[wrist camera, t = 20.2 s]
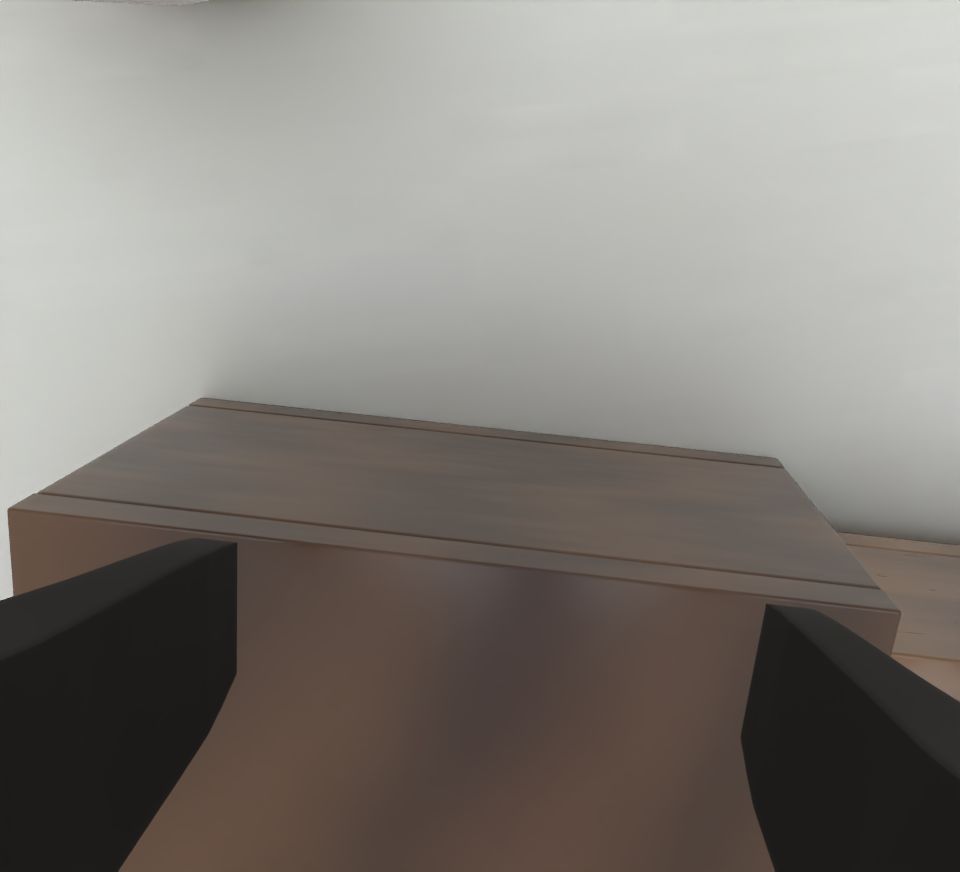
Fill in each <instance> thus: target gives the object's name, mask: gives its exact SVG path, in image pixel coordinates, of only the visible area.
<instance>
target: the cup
mask: <svg viewBox="0 0 960 872" xmlns="http://www.w3.org/2000/svg"><path fill="white" fill-rule="evenodd" d="M75 1H95V2H115V3H136V4H156V5H185V4H193V3H199V2H204V1H208V0H75Z"/></svg>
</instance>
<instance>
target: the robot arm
mask: <svg viewBox="0 0 960 872" xmlns="http://www.w3.org/2000/svg"><path fill="white" fill-rule="evenodd" d="M237 547H238V543H237V542H229V541H220V540H211V539H203V538H190V539H184V540H180V541H176V542H173V543H169V544H166V545H163V546H160V547H157V548H154V549H151V550H148V551H145V552H142V553H139V554H137V555H134V556H131V557H128V558H125V559H123V560H120V561H117V562H114V563H112V564H109V565H106V566H103V567H100V568H98V569H95V570H92V571H89V572H86V573H84V574H81V575H78V576H75V577H72V578H69V579H66V580H63V581H60V582H57V583H54V584H51V585H48V586H44V587H41V588H38V589H35V590H32V591H29V592H26V593H23V594H20V595H17V596H13V597H10V598H7V599H4V600H1V601H0V872H118V871H119V870H120V868H121V866H122V865H123V863H124V862H125V860H126V859H127V857H128V856H129V854H130V853H131V851H132V850H133V848H134V847H135V845H136V844H137V842H138V841H139V839H140V838H141V836H142V835H143V833H144V832H145V830H146V829H147V827H148V826H149V824H150V823H151V821H152V820H153V818H154V817H155V815H156V814H157V812H158V811H159V809H160V808H161V806H162V805H163V803H164V802H165V800H166V799H167V797H168V796H169V794H170V793H171V791H172V790H173V788H174V787H175V785H176V784H177V782H178V781H179V779H180V778H181V776H182V775H183V773H184V771H185V770H186V768H187V767H188V765H189V764H190V762H191V761H192V759H193V758H194V756H195V755H196V753H197V751H198V750H199V748H200V747H201V745H202V744H203V742H204V741H205V739H206V737H207V736H208V734H209V732H210V730H211V728H212V726H213V724H214V722H215V720H216V718H217V716H218V714H219V712H220V710H221V708H222V706H223V703H224V701H225V699H226V697H227V694H228V692H229V690H230V688H231V685H232V683H233V681H234V679H235V677H236V674H237ZM740 738H741V744H742V750H743V756H744V762H745V767H746V773H747V778H748V783H749V788H750V793H751V798H752V803H753V807H754V810H755V813H756V816H757V819H758V822H759V825H760V828H761V831H762V834H763V837H764V840H765V843H766V846H767V849H768V852H769V855H770V858H771V861H772V864H773V867H774V870H775V872H960V702H959V701H958V700H956V699H954V698H953V697H951V696H950V695H948V694H946V693H945V692H943V691H942V690H940V689H938V688H937V687H935V686H934V685H932V684H931V683H929V682H928V681H926V680H924V679H923V678H921V677H920V676H918V675H917V674H915V673H914V672H912V671H911V670H909V669H908V668H906V667H905V666H903V665H902V664H900V663H899V662H897V661H896V660H894V659H893V658H891V657H890V656H888V655H887V654H885V653H884V652H882V651H881V650H879V649H878V648H876V647H875V646H873V645H872V644H870V643H869V642H867V641H866V640H865V639H863V638H862V637H860V636H859V635H857V634H856V633H854V632H852V631H851V630H849V629H848V628H846V627H845V626H843V625H842V624H840V623H838V622H837V621H835V620H833V619H832V618H830V617H828V616H826V615H825V614H823V613H821V612H819V611H816V610H814V609H808V608H800V607H791V606H782V605H774V604H766V607H765V613H764V618H763V623H762V628H761V633H760V638H759V643H758V648H757V654H756V659H755V664H754V669H753V674H752V679H751V684H750V689H749V695H748V700H747V705H746V710H745V715H744V720H743V725H742V730H741V736H740Z"/></svg>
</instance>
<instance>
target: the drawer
mask: <svg viewBox="0 0 960 872" xmlns="http://www.w3.org/2000/svg"><path fill="white" fill-rule="evenodd" d="M836 533H837V534H838V535H839V536H840V538H841V539H842V540H843V541H844V543H845V544H846V545H847V546H848V547H849V549H850V550H851V551H852V552H853V554H854V555H855V556H856V557H857V559H858V560H859V561H860V562H861V564H862V565H863V566H864V567H865V569H866V570H867V571H868V572H869V573H870V575H871V576H872V577H873V578H874V580H875V581H876V582H877V583H878V585H879V586H880V587H881V590H884V591H885V592H886V593H887V594H888V595H889V597H890V598H891V599H892V600H893V602H894V603H895V604H896V605H897V607H898V608H899V609H900V610H901V617H900V621H899V625H898V629H897V633H896V637H895V642H894V646H893V650H892V654H891V658H893V659H894V660H896V661H897V662H899V663H900V664H902V665H903V666H905V667H906V668H908V669H909V670H911V671H912V672H914V673H915V674H917V675H918V676H920V677H921V678H923V679H924V680H926V681H928V682H929V683H931V684H932V685H934V686H935V687H937V688H938V689H940V690H942V691H943V692H945V693H946V694H948V695H950V696H951V697H953V698H954V699H956V700H958V701H959V702H960V546H959V545H949V544H940V543H931V542H922V541H913V540H904V539H895V538H886V537H877V536H868V535H859V534H849V533H840V532H836Z"/></svg>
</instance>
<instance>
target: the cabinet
mask: <svg viewBox="0 0 960 872" xmlns="http://www.w3.org/2000/svg"><path fill="white" fill-rule="evenodd" d="M7 512H8V526H9V539H10V553H11V566H12V580H13V593H14V596H17V595H20V594H23V593H26V592H29V591H32V590H35V589H38V588H41V587H44V586H48V585H51V584H54V583H57V582H60V581H63V580H66V579H69V578H72V577H75V576H78V575H81V574H84V573H86V572H89V571H92V570H95V569H98V568H100V567H103V566H106V565H109V564H112V563H114V562H117V561H120V560H123V559H125V558H128V557H131V556H134V555H137V554H139V553H142V552H145V551H148V550H151V549H154V548H157V547H160V546H163V545H166V544H169V543H173V542H176V541H180V540H184V539H190V538H203V539H211V540H220V541H229V542H237V543H238V547H237V674H236V677H235V679H234V681H233V683H232V685H231V688H230V690H229V692H228V694H227V697H226V699H225V701H224V703H223V706H222V708H221V710H220V712H219V714H218V716H217V718H216V720H215V722H214V724H213V726H212V728H211V730H210V732H209V734H208V736H207V737H206V739H205V741H204V742H203V744H202V745H201V747H200V748H199V750H198V751H197V753H196V755H195V756H194V758H193V759H192V761H191V762H190V764H189V765H188V767H187V768H186V770H185V771H184V773H183V775H182V776H181V778H180V779H179V781H178V782H177V784H176V785H175V787H174V788H173V790H172V791H171V793H170V794H169V796H168V797H167V799H166V800H165V802H164V803H163V805H162V806H161V808H160V809H159V811H158V812H157V814H156V815H155V817H154V818H153V820H152V821H151V823H150V824H149V826H148V827H147V829H146V830H145V832H144V833H143V835H142V836H141V838H140V839H139V841H138V842H137V844H136V845H135V847H134V848H133V850H132V851H131V853H130V854H129V856H128V857H127V859H126V860H125V862H124V863H123V865H122V866H121V868H120V870H119V871H118V872H775V870H774V867H773V864H772V861H771V858H770V855H769V852H768V849H767V846H766V843H765V840H764V837H763V834H762V831H761V828H760V825H759V822H758V819H757V816H756V813H755V810H754V807H753V803H752V798H751V793H750V788H749V783H748V778H747V773H746V767H745V762H744V756H743V750H742V744H741V738H740V736H741V730H742V725H743V720H744V715H745V710H746V705H747V700H748V695H749V689H750V684H751V679H752V674H753V669H754V664H755V659H756V654H757V648H758V643H759V638H760V633H761V628H762V623H763V618H764V613H765V607H766V604H774V605H782V606H791V607H800V608H808V609H814V610H816V611H819V612H821V613H823V614H825V615H826V616H828V617H830V618H832V619H833V620H835V621H837V622H838V623H840V624H842V625H843V626H845V627H846V628H848V629H849V630H851V631H852V632H854V633H856V634H857V635H859V636H860V637H862V638H863V639H865V640H866V641H867V642H869V643H870V644H872V645H873V646H875V647H876V648H878V649H879V650H881V651H882V652H884V653H885V654H887V655H888V656H890V657H891V654H892V650H893V646H894V642H895V637H896V633H897V629H898V625H899V621H900V617H901V610H900V609H899V608H898V607H897V605H896V604H895V603H894V602H893V600H892V599H891V598H890V597H889V595H888V594H887V593H886V592H885V591H884V590H881V587H880V586H879V585H878V583H877V582H876V581H875V580H874V578H873V577H872V576H871V575H870V573H869V572H868V571H867V570H866V569H865V567H864V566H863V565H862V564H861V562H860V561H859V560H858V559H857V557H856V556H855V555H854V554H853V552H852V551H851V550H850V549H849V547H848V546H847V545H846V544H845V543H844V541H843V540H842V539H841V538H840V536H839V535H838V534H837V533H836V531H835V530H834V529H833V528H832V526H831V525H830V524H829V523H828V521H827V520H826V519H825V518H824V517H823V515H822V514H821V513H820V512H819V510H818V509H817V508H816V507H815V505H814V504H813V503H812V502H811V500H810V499H809V498H808V497H807V495H806V494H805V493H804V492H803V490H802V489H801V488H800V487H799V486H798V484H797V483H796V482H795V481H794V479H793V478H792V477H791V476H790V474H789V473H788V472H787V471H786V470H785V469H784V467H783V465H782V464H781V463H780V462H779V460H778V459H776V458H768V457H758V456H749V455H739V454H730V453H720V452H711V451H701V450H692V449H682V448H673V447H663V446H654V445H644V444H635V443H625V442H616V441H606V440H597V439H587V438H578V437H568V436H559V435H549V434H540V433H530V432H521V431H511V430H502V429H492V428H483V427H473V426H464V425H454V424H445V423H435V422H426V421H416V420H407V419H397V418H388V417H378V416H369V415H359V414H350V413H340V412H331V411H321V410H311V409H302V408H292V407H283V406H273V405H264V404H254V403H245V402H235V401H226V400H216V399H207V398H200V399H198V400H196V401H195V402H193V403H191V404H189V406H186V407H185V408H183V409H181V410H179V411H178V412H176V413H174V414H173V415H171V416H169V417H167V418H166V419H164V420H162V421H160V422H159V423H157V424H155V425H153V426H152V427H150V428H148V429H147V430H145V431H143V432H141V433H140V434H138V435H136V436H134V437H133V438H131V439H129V440H128V441H126V442H124V443H122V444H121V445H119V446H117V447H115V448H114V449H112V450H110V451H108V452H107V453H105V454H103V455H102V456H100V457H98V458H96V459H95V460H93V461H91V462H89V463H88V464H86V465H84V466H83V467H81V468H79V469H77V470H76V471H74V472H72V473H70V474H69V475H67V476H65V477H64V478H62V479H60V480H58V481H57V482H55V483H53V484H51V485H50V486H48V487H46V488H44V489H43V490H41V491H39V492H38V493H37V494H32V495H31V496H29V497H27V498H25V499H24V500H22V501H20V502H18V503H17V504H15V505H13V506H12V507H10V508H8V511H7Z"/></svg>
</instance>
